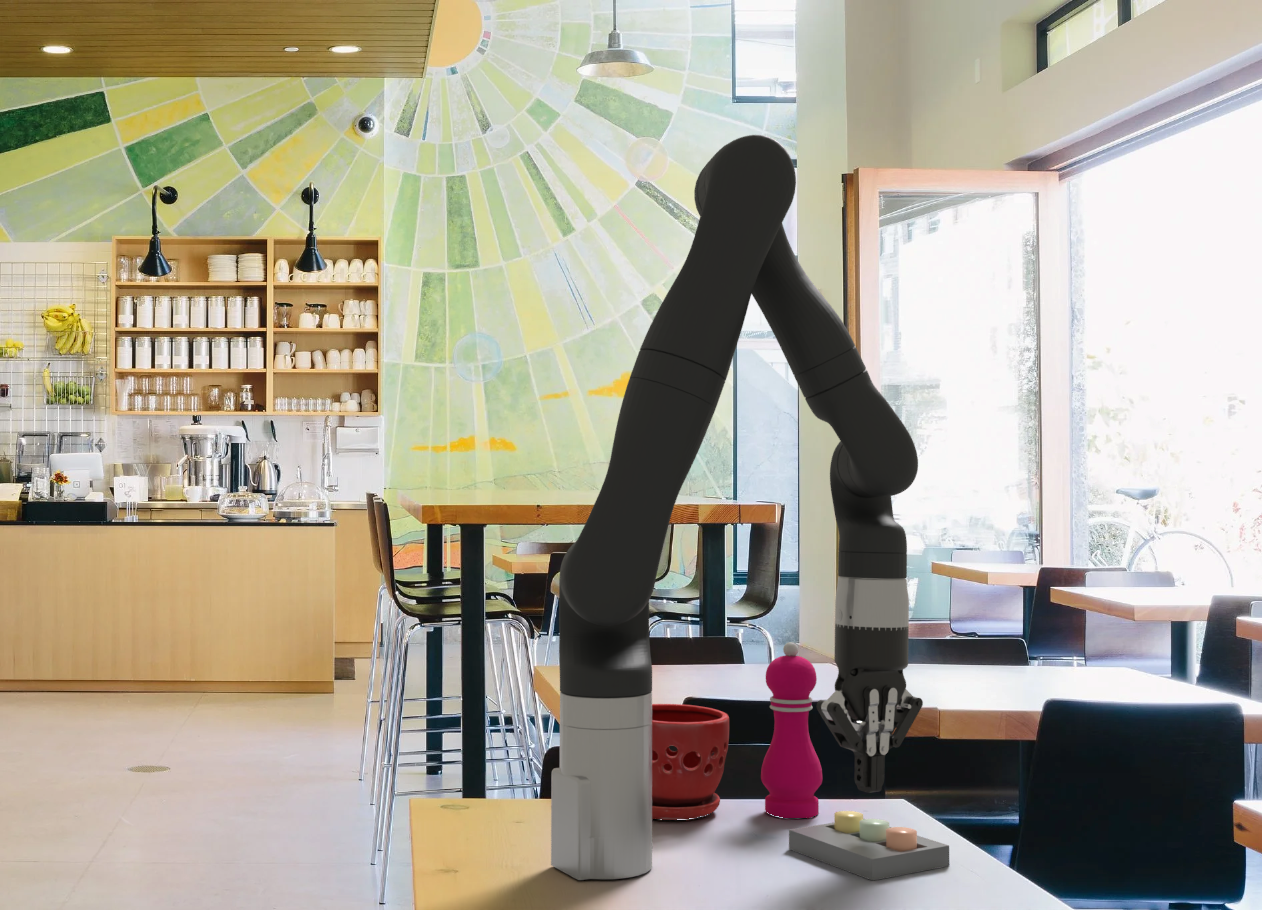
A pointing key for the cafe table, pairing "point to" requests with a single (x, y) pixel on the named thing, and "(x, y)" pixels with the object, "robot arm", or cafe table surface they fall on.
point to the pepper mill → (791, 739)
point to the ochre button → (847, 821)
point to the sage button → (873, 829)
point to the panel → (866, 852)
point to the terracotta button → (901, 838)
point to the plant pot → (687, 760)
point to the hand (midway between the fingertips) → (869, 790)
